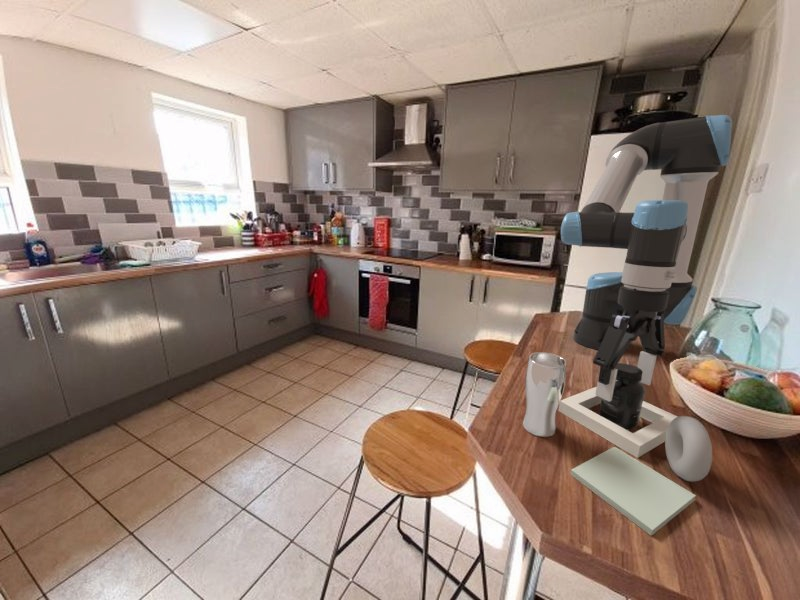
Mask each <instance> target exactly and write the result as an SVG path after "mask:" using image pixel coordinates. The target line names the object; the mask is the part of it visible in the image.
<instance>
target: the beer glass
mask: <svg viewBox="0 0 800 600" xmlns="http://www.w3.org/2000/svg"><path fill="white" fill-rule="evenodd" d="M566 378H567V361H566V359H565V358H563V357H562V356H560V355H557V354H554V353H551V352H545V351H544V352H541V351H540V352H533V353H531V354H530V355H529V356H528V362H527V366H526V373H525V381H524V382H525V383H524V384H525V396H526V397H525V398H526V399H525V400H526V411H525V413H524V414H525V415H524V417H523V420H522V426H523V428H524V429H525V431H527V432H528V433H530V434H532V435H534V436H536V437H541V438H548V437H551V436H553V435H555V433H556V413H557V411H558V409H559V403H560V401H561V400H562V397H563V393H564V390H565V385H566Z"/></svg>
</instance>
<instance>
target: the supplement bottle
mask: <svg viewBox="0 0 800 600" xmlns="http://www.w3.org/2000/svg"><path fill="white" fill-rule="evenodd" d="M615 369H618V370H617V375H616V380H615V385H614V391H613V396H612V401H610V402H609V401H607V400H605V399H603V398H602V400H601V403H600V407H599V412H598V415H600V416H602V417H604V418H605V419H607V420H609V421H611V422H613V423H615V424H617V425H618V426H620V427H622V428H624V429H626V430H628V431H629V430H634V429H636V428H637V426H638V425H639V421H640V418H641V417H640V412H641V408H642V403H643V401H644V398H645V393H646V387H645V384H644V383H641V382H640V381H641V380H642V373H643V371H642V370H641V369H640V368H638V367H637V366H635V365H633V364H629V363H621V362H620V363H619V362H618V364H617V365H616V367H615Z"/></svg>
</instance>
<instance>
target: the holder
mask: <svg viewBox="0 0 800 600" xmlns="http://www.w3.org/2000/svg"><path fill="white" fill-rule="evenodd" d="M596 388H597V386H595V387H592V388H589V389H587V390H584V391H582V392H579V393H577V394H574V395H571V396H568V397H566V398H563V399H561V400H560V402H559V405H558V409H557V411H558V412H559V413H561V414H563V415H564V416H566V417H568V418H569V419H571V420H573V421H575V422H576V423H578V424H580V425H581V426H583V427H585V428H586V429H588V430H589V431H591V432H593V433H595V434H597V435H598V436H600V437H602V438H603V439H604V440H607V442H610V443H611V444H613V445H615V447H616V446H617V448H620V450H622V451H623V450H624V451H625V453H628V454H630V455H632V457H634V458H637V459H639V458H641V456H643V455H645V454H647V453H649V452H650V451H651V450H653V449H655V448H657V447H658V446H661V444H663V443H665V437H666V432H667V429H668V426H669V424H670V423H671V421H672V420H673V419H675V418H677V417H679V416H677V415H675V414H673V413H671V412H668V411H666V410H664V409H662V408H659V407H657V406H655V405H653V404H651V403H649V402H647V401H644V400H643V403H642V408H641V412H640V417H639V418H642V420H645V421H648V422H650V424H648V425H646V426H644V427H642V428H641V429H638V430H636V431H635V432H631V431H629V430H626V429H624V428H622V427H620V426H618V425H617V424H615V423H613V422H611V421H609V420H607V419H605V418H604V417H602V416H600V415H599V413H597V412H594V411H592V410H591V408H593V407H595V406H598V405H601V400H602V398H601V397H599V396H597V395H595V394H596Z"/></svg>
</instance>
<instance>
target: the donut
mask: <svg viewBox="0 0 800 600" xmlns="http://www.w3.org/2000/svg"><path fill="white" fill-rule="evenodd" d="M664 445H665V454H666V459H667V462H668V463H669V467H670V468H671V469H672V471H673V472H674V474H675V475H677V476H678V477H680V478H681V479H683V480H684V481H687V482H698V481H702V480H703V479H704V478H705V477H706V476H708V475H709V472H710V470H711V467H712V463H713V446H712V441H711V438H710V434H709V432H708V431H707V429H706V428H705V426H704V425H703V423H701V421H699V420H698V419H696V418H694V417H691V416H687V415H680V416H678V417H677V418H675V419H673V420H672V421H671V423H670V424H669V426H668V429H667V432H666V437H665V442H664Z"/></svg>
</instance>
